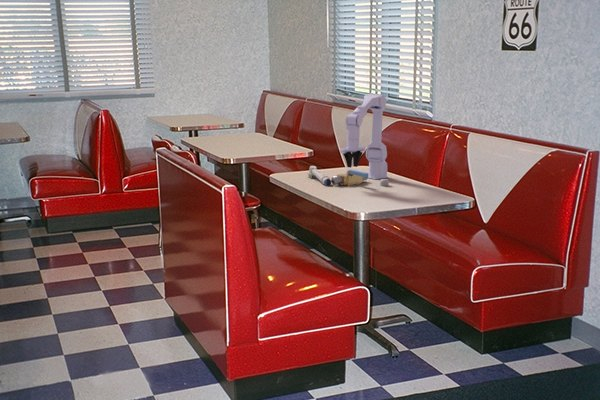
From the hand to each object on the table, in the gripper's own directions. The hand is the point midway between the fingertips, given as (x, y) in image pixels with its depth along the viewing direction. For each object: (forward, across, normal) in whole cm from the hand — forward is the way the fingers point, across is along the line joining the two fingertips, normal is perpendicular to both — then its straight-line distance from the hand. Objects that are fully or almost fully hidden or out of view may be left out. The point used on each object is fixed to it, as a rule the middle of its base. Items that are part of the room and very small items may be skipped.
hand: (352, 166), depth 358 cm
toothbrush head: (+10, +3, -21) cm, 24 cm away
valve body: (+10, -5, -7) cm, 13 cm away
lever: (+5, -5, -2) cm, 7 cm away
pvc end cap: (+10, -16, +7) cm, 20 cm away
